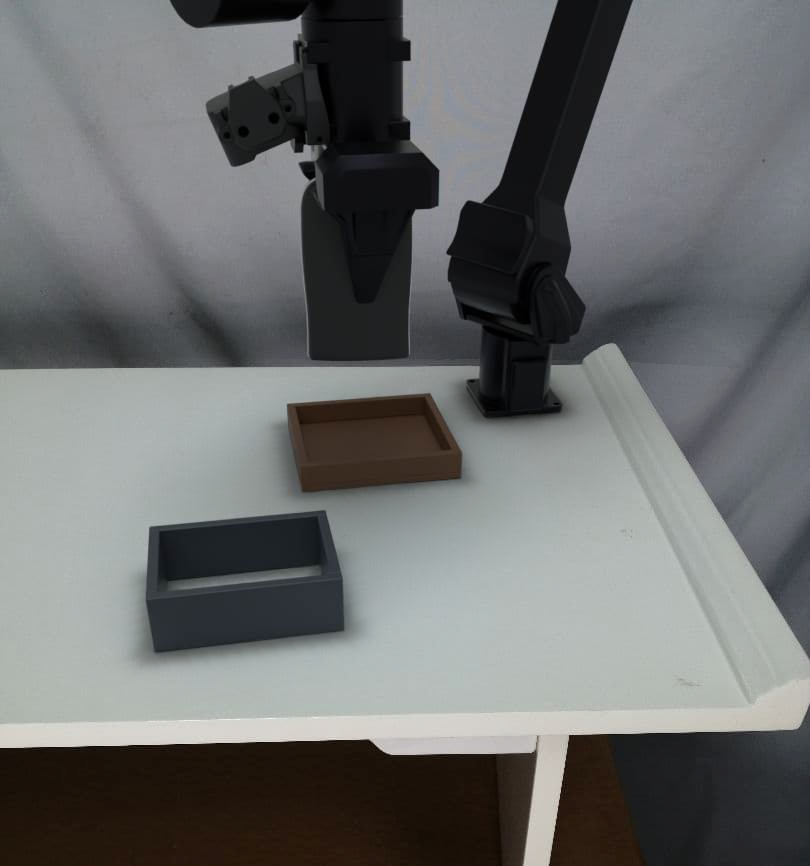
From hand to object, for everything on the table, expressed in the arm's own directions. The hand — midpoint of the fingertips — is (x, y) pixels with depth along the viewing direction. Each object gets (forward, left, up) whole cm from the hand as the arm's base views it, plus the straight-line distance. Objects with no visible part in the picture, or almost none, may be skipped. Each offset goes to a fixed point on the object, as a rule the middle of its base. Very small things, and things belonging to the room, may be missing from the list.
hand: (359, 290), depth 61 cm
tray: (-2, +1, -13) cm, 13 cm away
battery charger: (+1, 0, -4) cm, 4 cm away
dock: (+15, -9, -13) cm, 22 cm away
